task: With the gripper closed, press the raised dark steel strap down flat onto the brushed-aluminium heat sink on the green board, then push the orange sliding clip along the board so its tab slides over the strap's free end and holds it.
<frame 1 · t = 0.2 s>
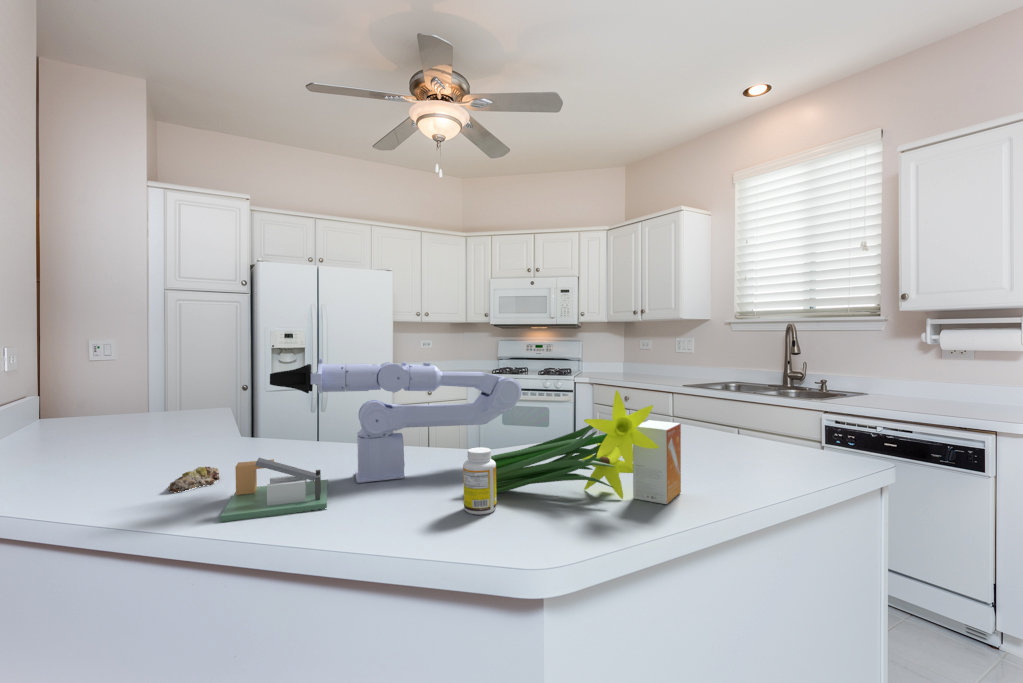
hand: (272, 378, 98), 21 cm above the countertop, tool horizontal, fingers open, 7 cm apart
daffodil flowers: (558, 497, 90), on the countertop, touching small box
clip: (255, 476, 92), point 4 cm above the countertop, slide at 0.0 cm
board: (279, 501, 90), on the countertop
mineral rock: (193, 487, 100), on the countertop
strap: (289, 470, 88), point 6 cm above the countertop, hinge at 22.0°
supplement bottle: (480, 511, 84), on the countertop
small box: (657, 497, 90), on the countertop, touching daffodil flowers
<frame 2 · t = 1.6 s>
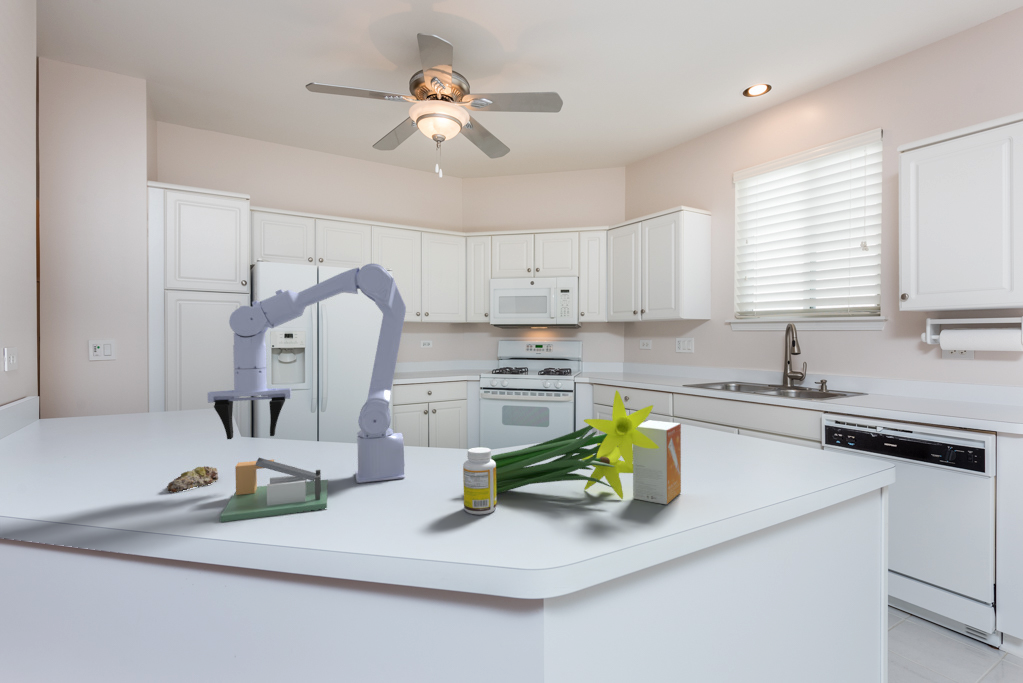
hand: (251, 436, 98), 10 cm above the countertop, tool pointing down, fingers open, 7 cm apart
daffodil flowers: (558, 497, 90), on the countertop, touching small box
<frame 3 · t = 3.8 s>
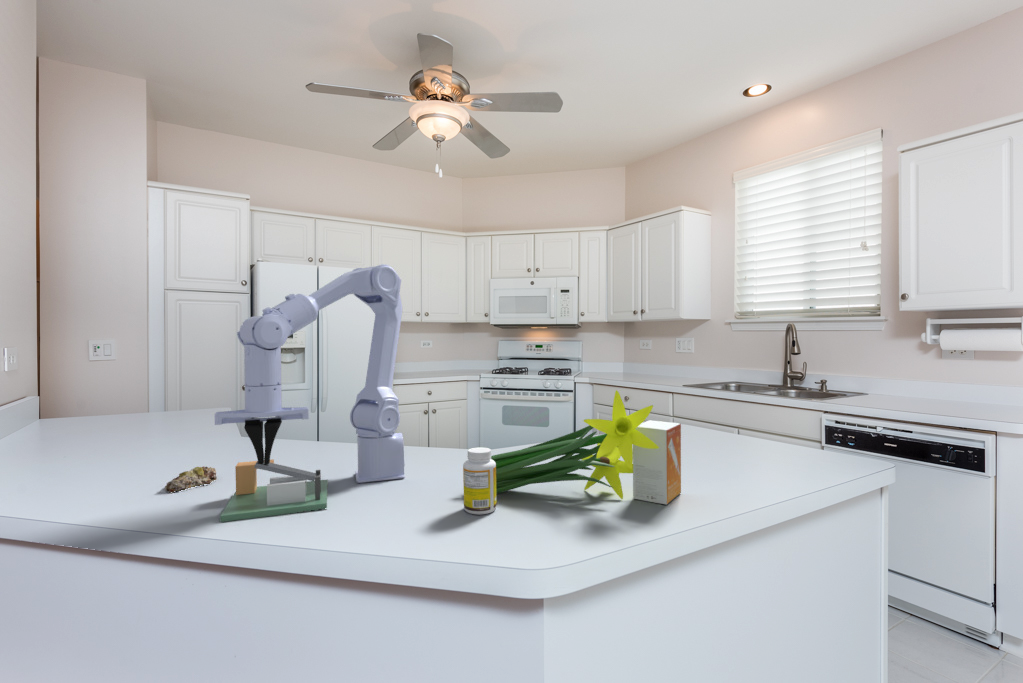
hand: (264, 462, 86), 8 cm above the countertop, tool pointing down, fingers closed
daffodil flowers: (558, 498, 90), on the countertop, touching small box
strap: (288, 471, 88), point 6 cm above the countertop, hinge at 19.6°, touching gripper
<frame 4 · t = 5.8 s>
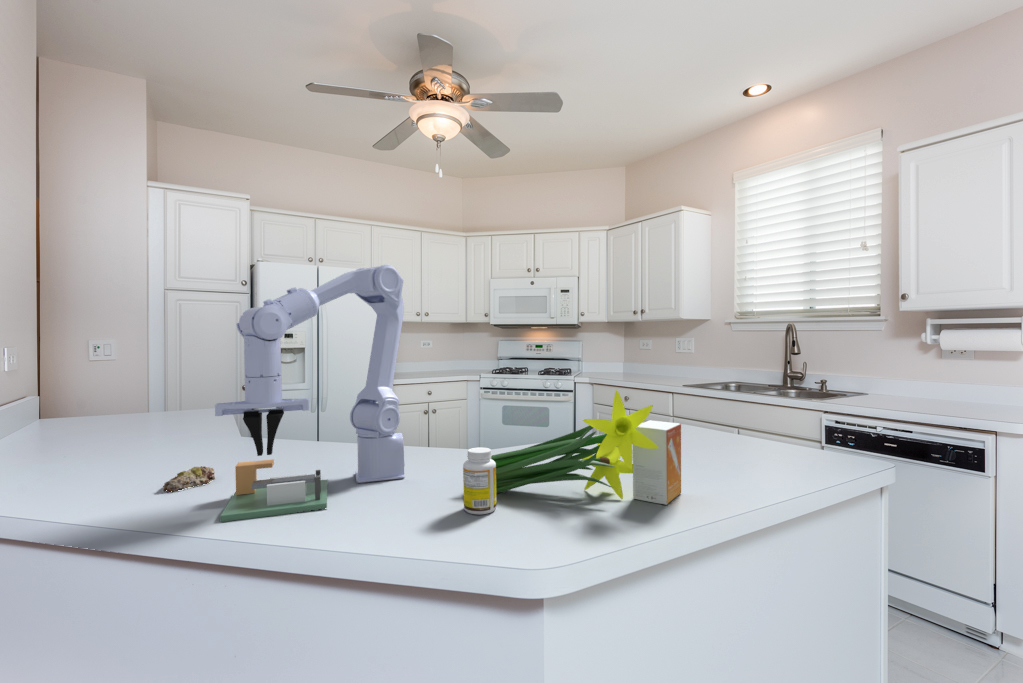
hand: (265, 454, 86), 9 cm above the countertop, tool pointing down, fingers closed
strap: (287, 481, 88), point 4 cm above the countertop, hinge at -0.7°
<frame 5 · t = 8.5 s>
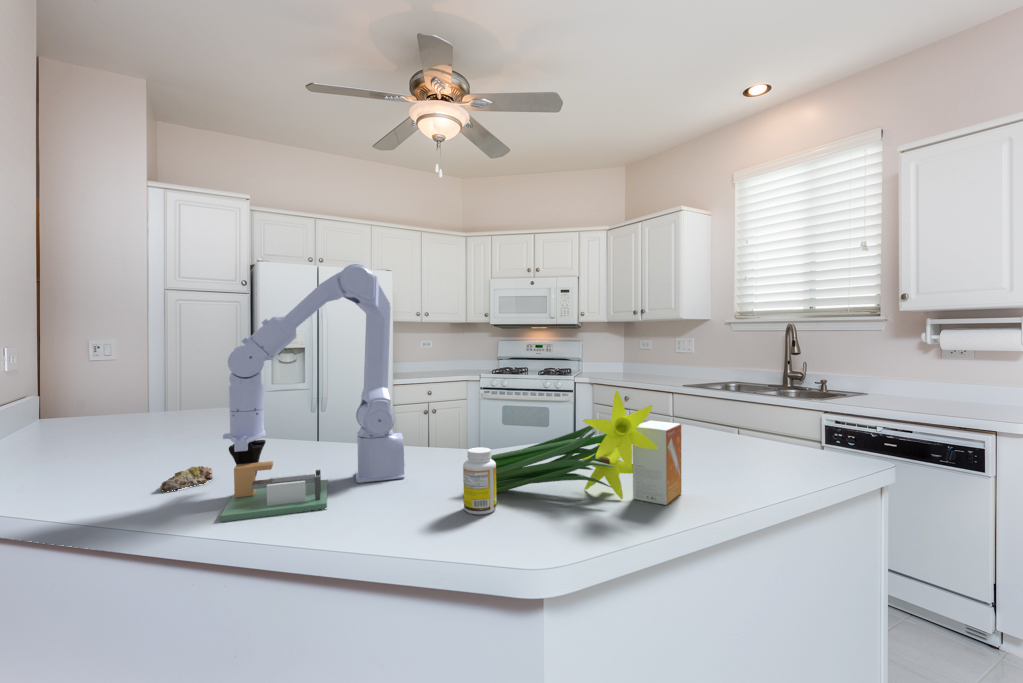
hand: (248, 481, 94), 2 cm above the countertop, tool pointing down, fingers closed
daffodil flowers: (558, 497, 90), on the countertop, touching small box
clip: (254, 478, 91), point 4 cm above the countertop, slide at 1.4 cm, touching gripper
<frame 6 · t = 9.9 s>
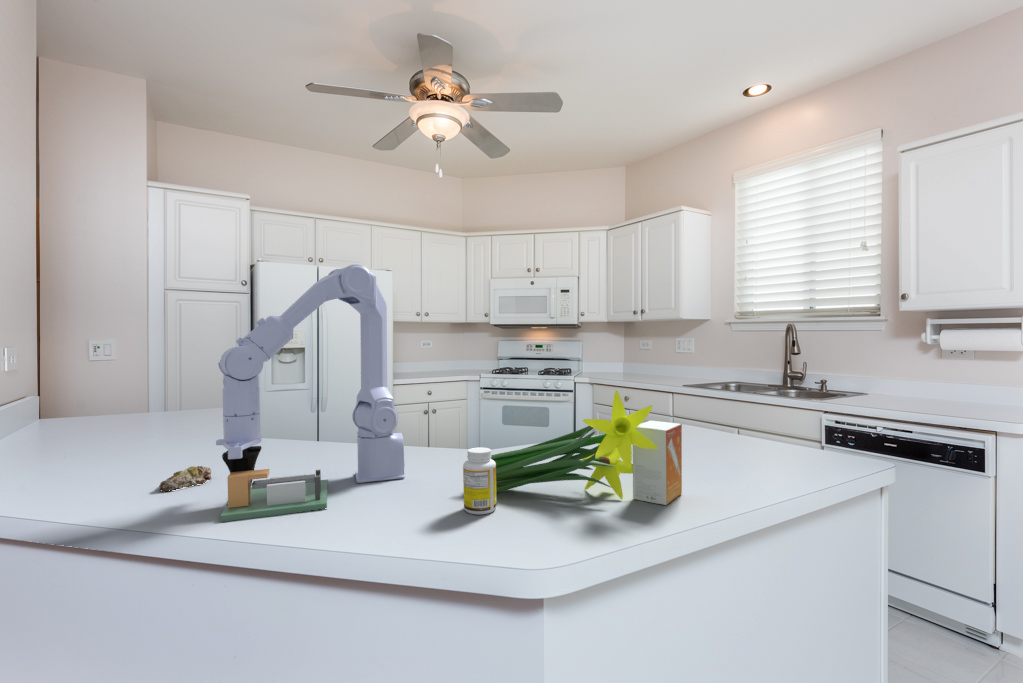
hand: (243, 490, 88), 2 cm above the countertop, tool pointing down, fingers closed
daffodil flowers: (558, 497, 90), on the countertop, touching small box
clip: (249, 487, 86), point 4 cm above the countertop, slide at 7.1 cm, touching gripper
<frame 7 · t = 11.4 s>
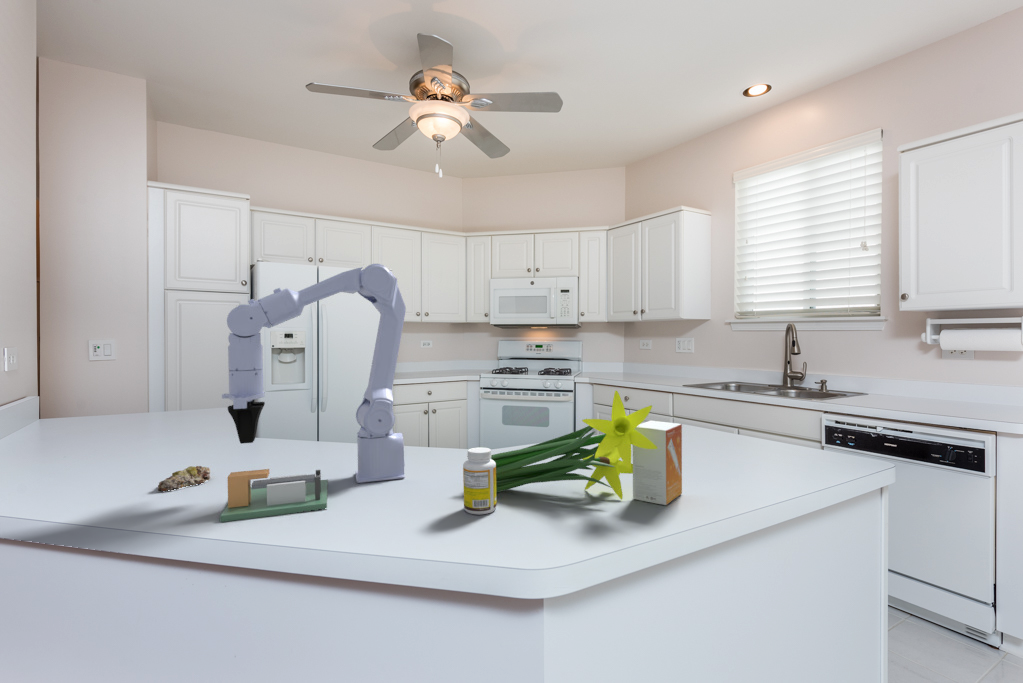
hand: (247, 442, 94), 10 cm above the countertop, tool pointing down, fingers closed
clip: (249, 487, 86), point 4 cm above the countertop, slide at 7.1 cm
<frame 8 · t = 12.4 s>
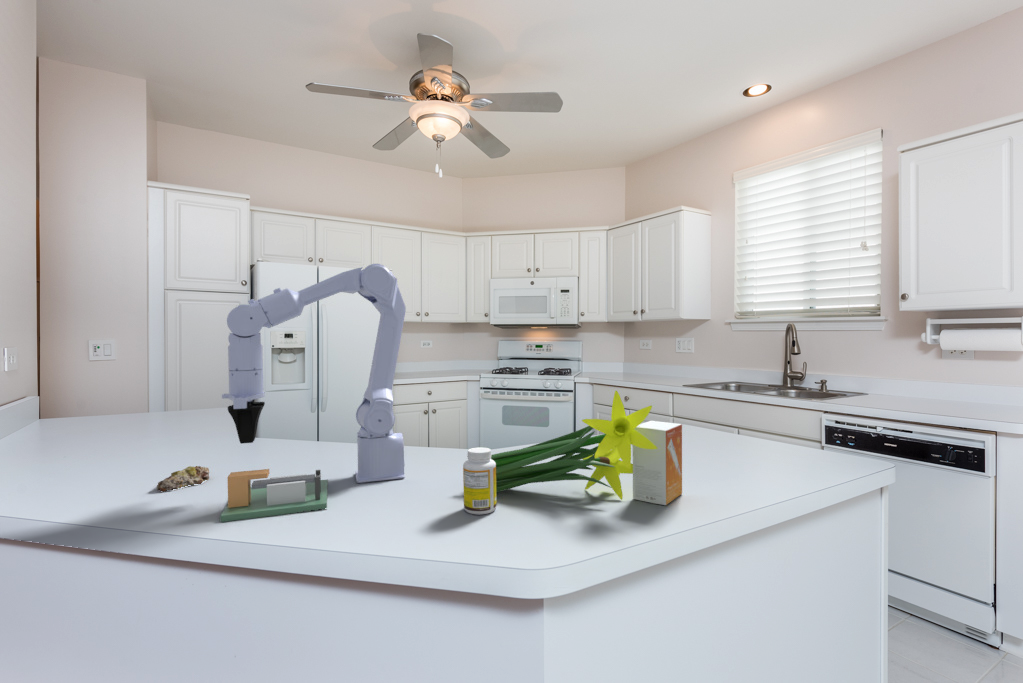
hand: (247, 442, 94), 10 cm above the countertop, tool pointing down, fingers closed
at the end: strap at -1° (first picture: +22°); clip slide at 7.1 cm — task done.
